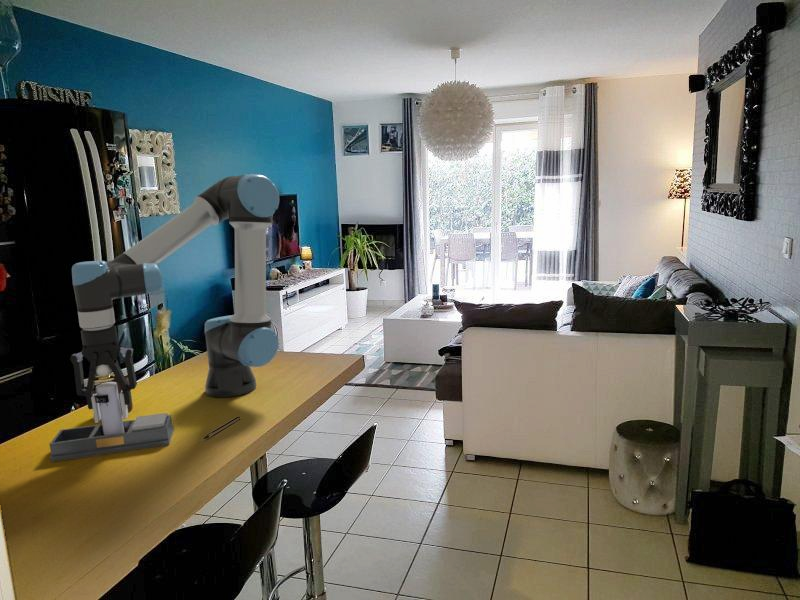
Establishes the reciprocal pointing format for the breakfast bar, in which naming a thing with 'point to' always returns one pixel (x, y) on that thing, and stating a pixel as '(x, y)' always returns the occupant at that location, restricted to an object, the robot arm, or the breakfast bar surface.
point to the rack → (112, 438)
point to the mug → (119, 393)
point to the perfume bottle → (108, 401)
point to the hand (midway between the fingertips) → (111, 418)
